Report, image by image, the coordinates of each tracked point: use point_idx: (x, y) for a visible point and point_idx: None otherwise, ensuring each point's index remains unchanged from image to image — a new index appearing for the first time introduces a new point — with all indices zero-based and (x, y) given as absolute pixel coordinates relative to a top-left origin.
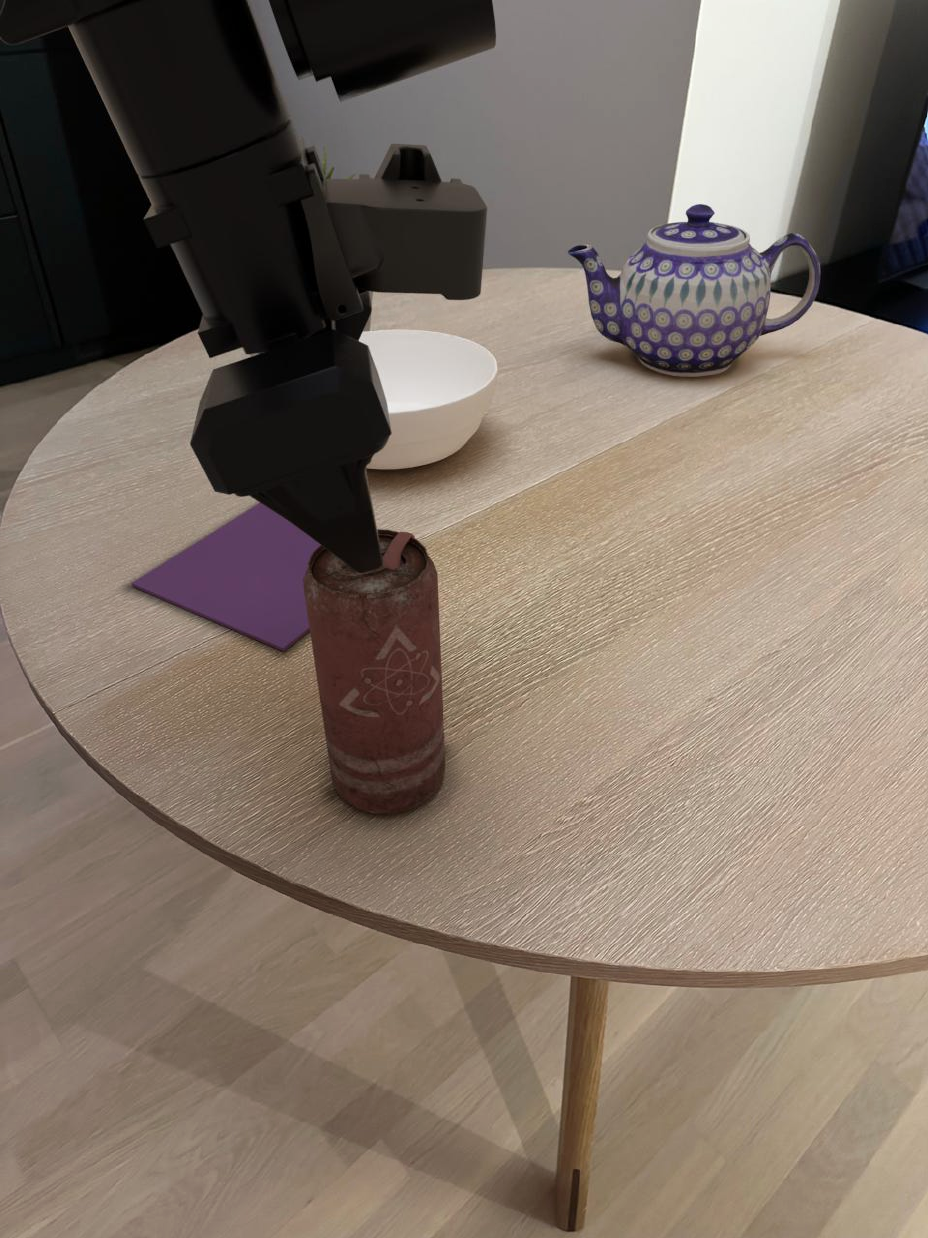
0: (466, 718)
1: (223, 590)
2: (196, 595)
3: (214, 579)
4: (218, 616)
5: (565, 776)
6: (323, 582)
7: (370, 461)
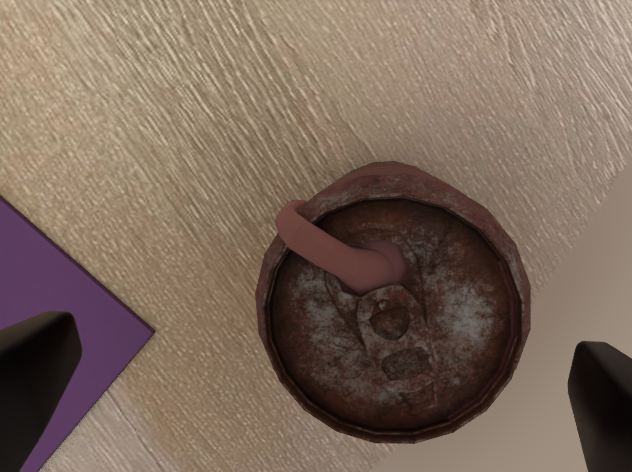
0: (305, 122)
1: None
2: None
3: None
4: (83, 405)
5: (425, 14)
6: (431, 412)
7: (69, 313)
